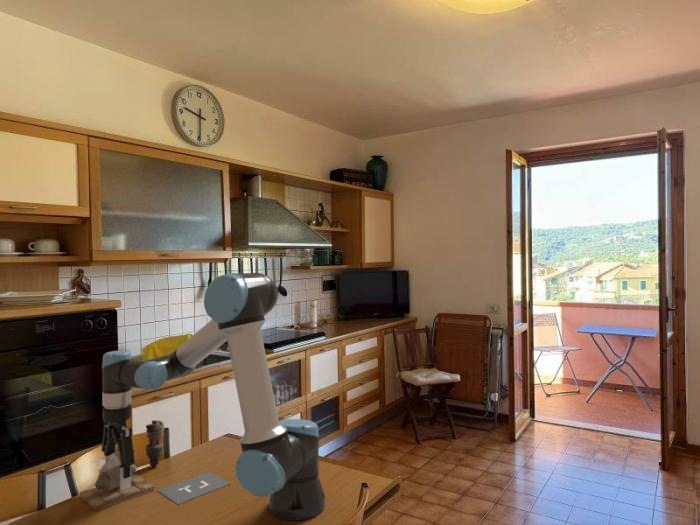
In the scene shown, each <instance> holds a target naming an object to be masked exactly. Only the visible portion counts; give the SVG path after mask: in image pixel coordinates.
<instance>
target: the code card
mask: <svg viewBox="0 0 700 525" xmlns="http://www.w3.org/2000/svg"><path fill="white" fill-rule="evenodd" d="M230 485H232V483H230V482H229V481H227V480H225V479H223V478H222V477H219V476H218V475H216V474H214V473H213V472H210V471H208V472H206V473H205V472H204V473H203V474H200V475H196V476H193V477H192V478H188V479H186V480H183V481H180V482H178V483H175V484H172V485H169V486H166V487H163V488H160V489H159V490H158V489H157V492H158V493H159V494H161V495H162V496H164V497H166V498H168V499H169V500H170V501H172V502H173V503H175V505H180V504H184V503H186V502H189V501H191V500H193V499H195V498H198V497H201V496H204V495H206V494H209V493H212V492H213V491H216V490H219V489H222V488H224V487H226V486H230Z"/></svg>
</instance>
